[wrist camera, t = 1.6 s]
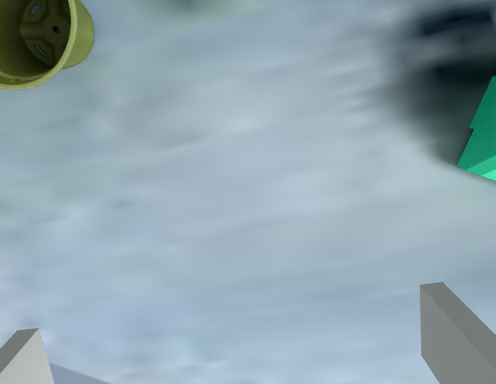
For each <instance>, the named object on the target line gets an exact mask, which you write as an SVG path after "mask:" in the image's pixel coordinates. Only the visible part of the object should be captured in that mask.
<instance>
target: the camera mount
mask: <svg viewBox="0 0 496 384" xmlns="http://www.w3.org/2000/svg"><path fill="white" fill-rule="evenodd" d="M469 128H471V129H474V131H473V133H472V135H471V137H470V139H469V141H468V143H467V146H466V148H465V150H464V152H463V154H462V156H461V158H460V161H459V163H458V165H457V167H458V168H460V169H463V170H466V171H469V172H472V173H474V174H477V175H480V176H483V177H486V178H489V179H492V180H495V181H496V76H493V77H492V79H491V81H490V83H489V85H488V88H487V90H486V92H485V94H484V96H483V98H482V101H481V103H480V105H479V107H478V109H477V111H476V114H475V116H474V118H473V120H472V122H471V124H470V127H469Z"/></svg>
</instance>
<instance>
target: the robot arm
mask: <svg viewBox="0 0 496 384" xmlns="http://www.w3.org/2000/svg"><path fill="white" fill-rule="evenodd" d="M420 311H421V356H422V357H423V359H424V360H425V362H426V363H427V365H428V366H429V368H430V369H431V371H432V372H433V374H434V375H435V377H436V378H437V380H438V381H439V383H440V384H496V335H495V334H494V333H493V332H492V331H491V330H490V329H489V328H488V327H487V326H486V325H485V324H484V323H483V322H482V321H481V320H480V319H479V318H478V317H477V316H476V315H475V314H474V313H473V312H472V311H471V310H470V309H469V308H468V307H467V306H466V305H465V304H464V303H463V302H462V301H461V300H460V299H459V298H458V297H457V296H456V295H455V294H454V293H453V292H452V291H451V290H450V289H449V288H448V287H447V286H446V285H445V284H444V283H443V282H441V283H433V284H424V285H420ZM0 384H54V381H53V377H52V374H51V370H50V366H49V363H48V359H47V355H46V352H45V348H44V345H43V341H42V337H41V334H40V330H39V328H36V329H27V330H18V331H16V332H15V334H14V335H13V336H12V337H11V338H10V339H9V340H8V341H7V342H6V343H5V344H4V345H3V346H2V348H1V349H0Z"/></svg>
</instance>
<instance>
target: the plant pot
mask: <svg viewBox="0 0 496 384" xmlns="http://www.w3.org/2000/svg"><path fill="white" fill-rule="evenodd" d="M67 2H69V5H68V4H67ZM38 3H40V4H41V7H40V8H39V9H38V10H37V11H36V12H35V14H34V15H33V16H32V17H30V16H31V11H32V9H33V7H34V6H35V5H36V4H38ZM55 26H56V27H58V28H59V32H58V33H55V32H54V31H53V28H54V27H55ZM93 43H94V28H93V23H92V19H91V16H90V14H89V12H88V11H87V9H86V8H85V6H84V5H83V4H82V3H81V2H80V1H79V0H0V89H7V90H22V89H28V88H32V87H35V86H38V85H40V84H42V83H44V82H46V81H48V80H49V79H51V78H52V77H54V76H55V75H56V74H57V73H58V72H59V71H60V70H62V69H66V68H69V67H72V66H75V65H77V64H79V63H80V62H82V61H83V60H84V59H85V58H86V57H87V56H88V54H89V53H90V51H91V48H92V46H93ZM35 45H38V46H39V47H40V48H41V49H42V50H43V51H44V52H45V53H46V54H48V55H49V57H44V56H43V55H42V54H41V53H39V52H38V51H37V50H36V49H35Z"/></svg>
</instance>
